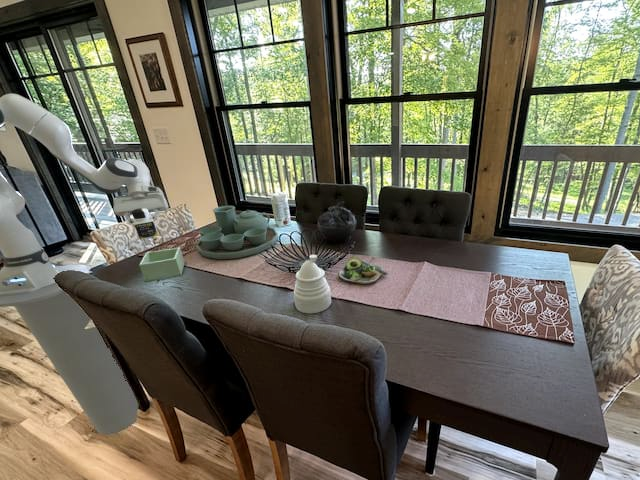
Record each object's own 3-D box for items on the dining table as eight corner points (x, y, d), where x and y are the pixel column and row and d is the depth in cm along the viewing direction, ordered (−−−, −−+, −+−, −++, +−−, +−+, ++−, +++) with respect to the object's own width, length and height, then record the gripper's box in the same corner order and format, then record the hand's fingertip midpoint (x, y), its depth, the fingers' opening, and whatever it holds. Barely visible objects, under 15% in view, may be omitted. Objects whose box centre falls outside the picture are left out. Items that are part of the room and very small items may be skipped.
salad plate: (393, 268, 133) (393, 259, 130) (379, 289, 118) (379, 278, 116) (352, 262, 140) (351, 253, 138) (334, 281, 125) (333, 271, 123)
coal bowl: (333, 250, 152) (330, 213, 143) (312, 239, 166) (308, 205, 157) (364, 239, 163) (363, 204, 154) (342, 230, 177) (340, 197, 168)
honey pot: (323, 290, 119) (318, 246, 111) (337, 306, 109) (333, 260, 101) (290, 299, 114) (283, 255, 106) (302, 317, 104) (295, 269, 96)
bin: (145, 281, 131) (138, 265, 128) (152, 268, 143) (146, 252, 139) (181, 275, 135) (175, 258, 132) (184, 262, 147) (179, 247, 143)
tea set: (180, 256, 153) (170, 224, 146) (233, 228, 187) (227, 201, 179) (248, 264, 142) (240, 230, 134) (292, 233, 175) (287, 205, 168)
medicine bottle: (139, 239, 135) (129, 212, 129) (139, 235, 140) (129, 209, 135) (158, 235, 138) (149, 209, 133) (157, 231, 144) (148, 206, 138)
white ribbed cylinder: (292, 224, 189) (287, 193, 180) (278, 227, 185) (273, 195, 176) (287, 221, 195) (283, 191, 186) (274, 224, 191) (269, 193, 182)
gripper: (109, 192, 133) (111, 221, 130) (163, 187, 139) (166, 214, 136) (116, 200, 139) (118, 228, 135) (167, 194, 145) (171, 221, 141)
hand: (143, 221), depth 136 cm, fingers closed on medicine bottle, 7 cm apart
